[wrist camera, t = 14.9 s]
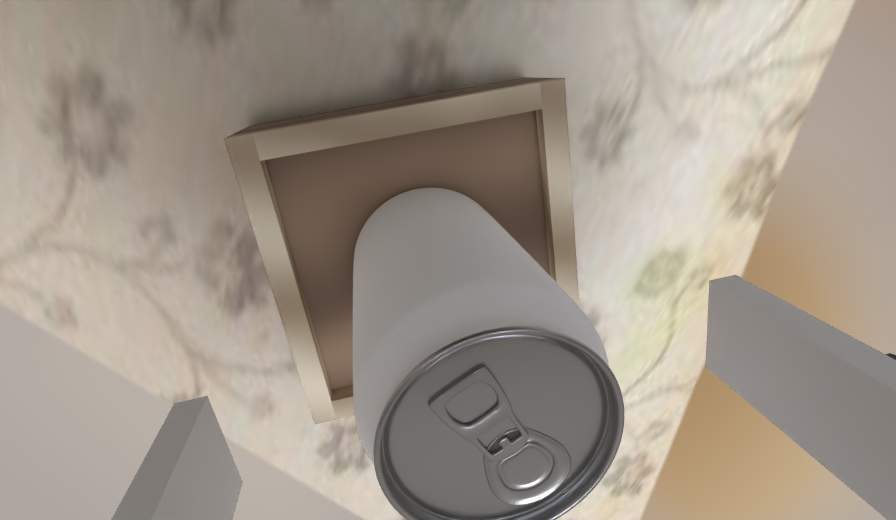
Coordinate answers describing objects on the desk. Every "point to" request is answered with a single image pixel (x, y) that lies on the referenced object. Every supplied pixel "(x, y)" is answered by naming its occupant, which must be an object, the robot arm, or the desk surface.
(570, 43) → the desk surface
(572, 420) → the can
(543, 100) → the wooden tray
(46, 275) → the desk surface
